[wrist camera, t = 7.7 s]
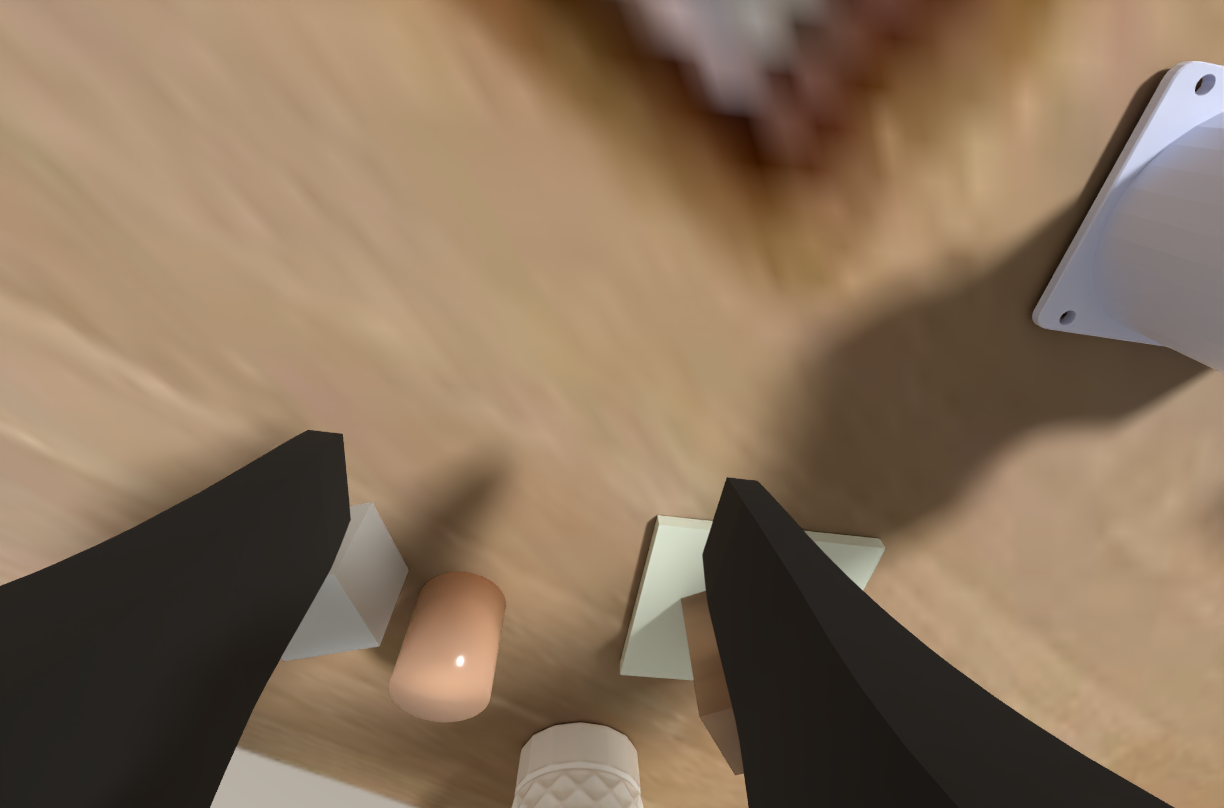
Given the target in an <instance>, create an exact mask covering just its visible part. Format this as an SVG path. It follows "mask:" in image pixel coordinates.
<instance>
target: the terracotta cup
mask: <svg viewBox="0 0 1224 808" xmlns="http://www.w3.org/2000/svg"><path fill="white" fill-rule="evenodd" d="M505 609H506V601H505V597H504V595H503V593H502V591H501V590H500V589H499V588H498V587H497V586H496V585H495V584H494V583H493V582H491V581H490V580H488V579H486V578H484V577H482V576H479V575H476V574H472V573H466V572H450V573H445V574H441V575H438V576H436V577H434V578H432V579H431V580H429V581H428V582H427V583H426V584H425V585H424V586H423V587H422V589H421V591H420V594H419V597H418V600H417V603H416V606H415V609H414V612H413V615H412V618H411V621H410V624H409V626H408V629H407V632H406V635H405V638H404V641H403V644H402V647H401V650H400V653H399V656H398V659H397V662H396V665H395V668H394V671H393V674H392V676H391V679H390V683H389V694H390V697H391V699H392V700H393V702H394V703H395V704H396V705H397V706H398V707H399V708H400V709H402V710H403V711H405V712H406V713H408V714H410V715H412V716H415V717H417V718H420V719H424V720H428V721H433V722H457V721H462V720H466V719H469V718H472V717H474V716H476V715H478V714H479V713H481V712H482V711H483V710H484V709H485V708H486V707H487V705H488V703H489V701H490V697H491V691H492V685H493V679H494V673H495V667H496V661H497V656H498V650H499V644H500V638H501V632H502V626H503V620H504V614H505Z"/></svg>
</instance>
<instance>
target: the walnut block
mask: <svg viewBox="0 0 1224 808" xmlns="http://www.w3.org/2000/svg"><path fill="white" fill-rule="evenodd" d="M681 604H682V611H683V617H684V623H685V629H686V635H687V642H688V648H689V654H690V660H691V667H692V673H693V679H694V685H695V692H696V698H697V704H698V710H699V716H700V718H701V720H702V722H703V723H704V725H705V727H706V728H707V730H708V731H709V733H710V735H711V736H712V738H713V740H714V741H715V743H716V745H717V746H718V748H719V749H720V751H721V753H722V754H723V756H724V758H725V759H726V761H727V763H728V764H729V766H730V768H731V769H732V771H733V772H734V774H735V775H739V774H743V773H744V770H743V763H742V756H741V749H740V742H739V737H738V732H737V727H736V722H735V717H734V713H733V709H732V704H731V700H730V696H729V692H728V688H727V684H726V680H725V676H724V671H723V667H722V663H721V659H720V655H719V651H718V647H717V643H716V638H715V634H714V630H713V626H712V621H711V617H710V613H709V608H708V604H707V596H706V591H703V592H700V593H697V594H693V595H690V596H687V597H684V598H681Z"/></svg>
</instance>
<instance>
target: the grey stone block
mask: <svg viewBox="0 0 1224 808" xmlns="http://www.w3.org/2000/svg"><path fill="white" fill-rule="evenodd" d="M350 516H351V521H350V523H349V526H348V528H347V531H346V534H345V536H344V539H343V541H342V544H341V546H340V549H339V551H338V554H337V556H336V558H335V561H334V563H333V566H332V568H331V570H330V572H329V574H328V575H327V577H326V579H325V581H324V583H323V585H322V586H321V588H320V590H319V592H318V593H317V595H316V597H315V599H314V601H313V602H312V604H311V606H310V608H309V610H308V611H307V613H306V615H305V617H304V618H303V620H302V622H301V624H300V625H299V627H298V629H297V631H296V632H295V634H294V636H293V638H292V639H291V641H290V643H289V645H288V646H287V648H286V650H285V652H284V653H283V655H282V657H281V659H282V660H283V661H289V660H296V659H302V658H308V657H315V656H321V655H328V654H334V653H340V652H347V651H353V650H359V649H366V648H372V647H378V646H380V644H381V642H382V639H383V636H384V634H385V631H386V629H387V626H388V623H389V621H390V618H391V615H392V613H393V610H394V608H395V605H396V602H397V600H398V597H399V595H400V592H401V589H402V587H403V584H404V581H405V579H406V576H407V574H408V571H409V569H408V567H407V565H406V564H405V562H404V560H403V558H402V556H401V554H400V552H399V551H398V549H397V547H396V545H395V543H394V541H393V539H392V538H391V536H390V534H389V532H388V530H387V528H386V527H385V525H384V523H383V521H382V519H381V517H380V515H379V514H378V512H377V510H376V508H375V506H374V504H373V502H370V503H364V504H358V505H353V506H350Z"/></svg>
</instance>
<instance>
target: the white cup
mask: <svg viewBox="0 0 1224 808" xmlns="http://www.w3.org/2000/svg"><path fill="white" fill-rule="evenodd" d="M511 808H643V804H642V800H641V790H640V779H639V769H638V758H637V751H636V749H635V747H634V746H633V744H632V743H631V742H630V740H629V739H628V737H627V736H626V735H624V734H622V733H620V732H618V731H616V730H614V729H612V728H610V727H608V726H604V725H597V724H590V723H583V722H578V723H567V724H561V725H554V726H552V727H550V728H547V729H545V730H543V731H541V732H539V733H536V734H534V735H533V736H532V737H531V738H530V740H529V741H528V742H527V743H526V744H525V746H524V747H523V748H522V750H521V755H520V761H519V768H518V775H517V782H516V789H515V798H514V801H513V804H512V807H511Z"/></svg>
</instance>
